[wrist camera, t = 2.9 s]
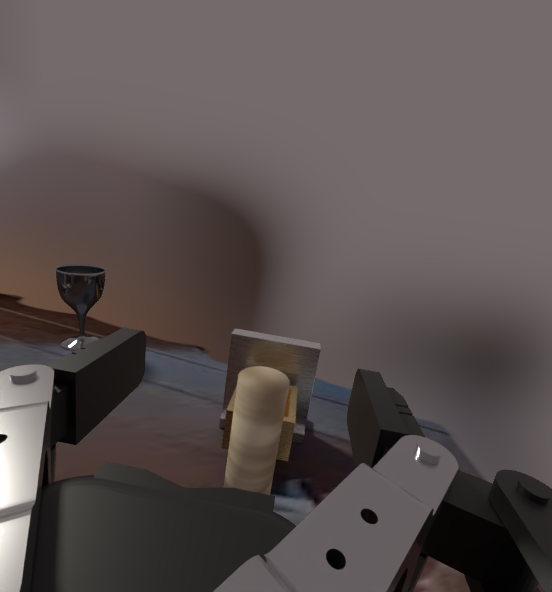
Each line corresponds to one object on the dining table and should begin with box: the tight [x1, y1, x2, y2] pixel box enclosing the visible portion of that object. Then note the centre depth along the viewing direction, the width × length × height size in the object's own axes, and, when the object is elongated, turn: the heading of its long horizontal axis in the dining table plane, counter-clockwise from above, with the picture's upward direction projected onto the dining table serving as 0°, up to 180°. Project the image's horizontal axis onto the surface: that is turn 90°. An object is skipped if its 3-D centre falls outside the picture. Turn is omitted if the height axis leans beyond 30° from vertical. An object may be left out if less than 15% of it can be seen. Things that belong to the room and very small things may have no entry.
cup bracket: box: [219, 329, 321, 461], centre depth 42 cm, size 14×12×14 cm
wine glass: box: [56, 264, 105, 350], centre depth 61 cm, size 8×8×15 cm
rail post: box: [224, 366, 290, 495], centre depth 27 cm, size 4×4×18 cm
